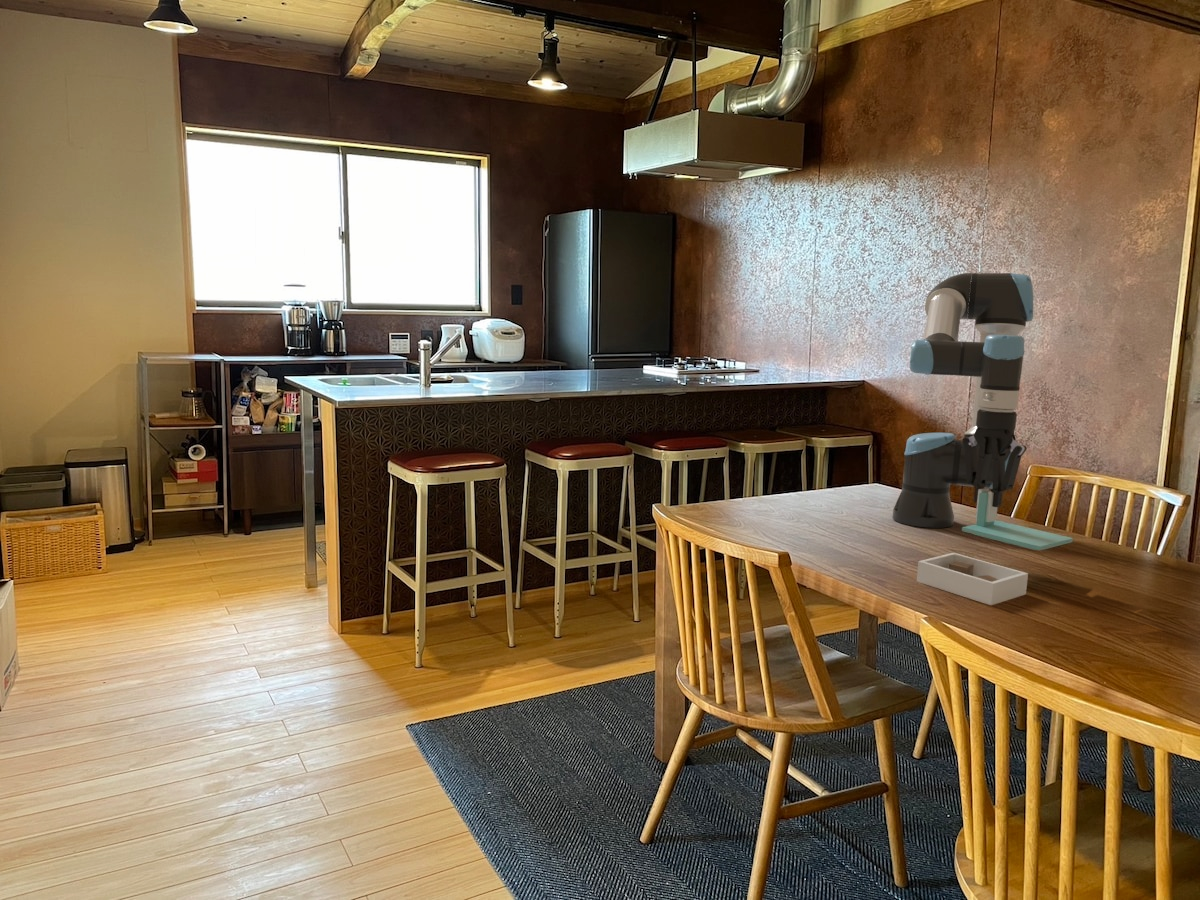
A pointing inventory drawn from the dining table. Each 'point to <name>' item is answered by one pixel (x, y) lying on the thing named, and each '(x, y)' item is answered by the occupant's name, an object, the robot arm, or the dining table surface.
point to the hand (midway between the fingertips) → (985, 519)
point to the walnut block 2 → (987, 578)
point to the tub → (973, 579)
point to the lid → (1012, 531)
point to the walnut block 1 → (962, 567)
